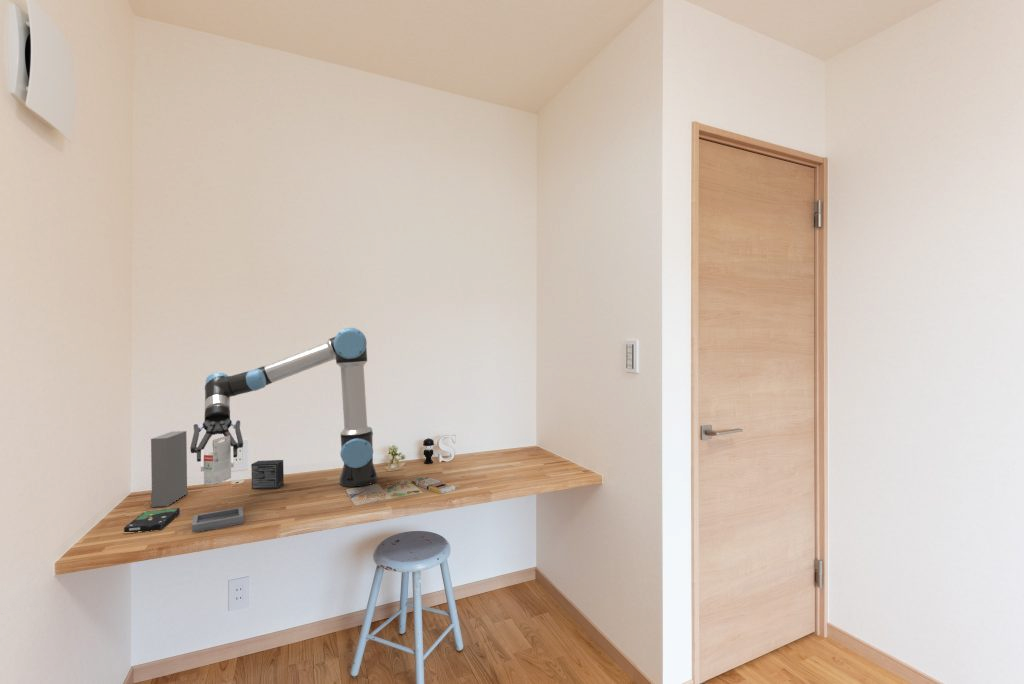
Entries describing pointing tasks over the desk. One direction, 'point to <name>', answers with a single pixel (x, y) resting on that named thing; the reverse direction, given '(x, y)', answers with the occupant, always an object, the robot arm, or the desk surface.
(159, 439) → the dark grey slab
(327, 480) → the desk surface
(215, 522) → the holder
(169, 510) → the disk drive
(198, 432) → the robot arm
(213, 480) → the ink box
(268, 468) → the small box
